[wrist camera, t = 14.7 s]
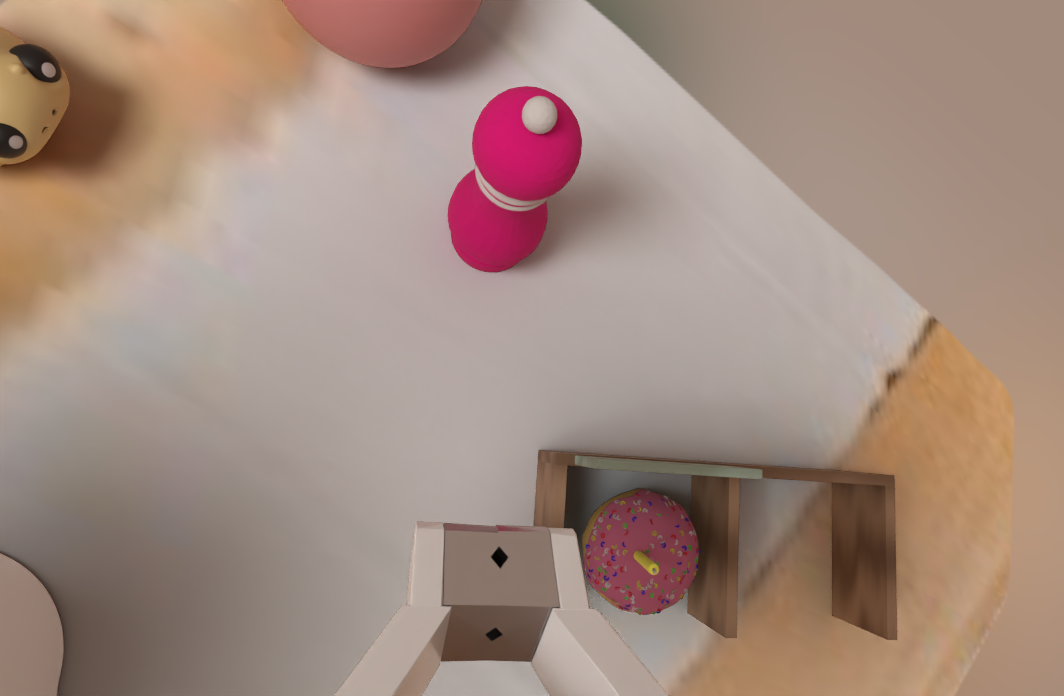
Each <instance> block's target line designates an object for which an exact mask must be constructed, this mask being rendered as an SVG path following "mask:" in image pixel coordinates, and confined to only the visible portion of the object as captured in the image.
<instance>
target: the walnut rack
mask: <svg viewBox="0 0 1064 696" xmlns="http://www.w3.org/2000/svg"><path fill="white" fill-rule="evenodd" d="M567 465H568V466H584V467H590V468H595V469H607V470H623V471H639V472H655V473H671V474H686V475H692V484H691V517H690V520H691V522H692V524H693V526H694V528H695V531H696V534H697V539H698V548H699V550H701V552H700V553H699V557H698V561H699V563H698V571H697V570H696V575H695V577H694V583H693V582H692V583H691V585H690V587H689V588H688V614H690V615H692V616H693V617H695V618H696V619H698V620H699V621H701V622H702V623H704V624H705V625H707V626H708V627H710V628H711V629H713V630H715V631H716V632H718V633H719V634H721V635H722V636H724V637H725V638H737V590H738V539H739V488H740V478H750V479H762V478H772V479H788V480H803V481H819V482H832V616H834V617H837V618H839V619H841V620H844V621H846V622H848V623H850V624H853V625H855V626H857V627H860V628H862V629H864V630H866V631H869V632H871V633H873V634H876V635H878V636H880V637H883V638H885V639H887V640H897V599H896V541H895V482H894V475H883V474H872V473H861V472H850V471H839V470H824V469H809V468H795V467H780V466H765V465H750V464H736V463H721V462H706V461H691V460H677V459H662V458H647V457H632V456H618V455H603V454H588V453H574V452H559V451H544V450H539V452H538V467H537V482H536V497H535V511H534V526H536V527H546V528H564V514H565V498H566V481H567Z"/></svg>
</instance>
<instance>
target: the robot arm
mask: <svg viewBox="0 0 1064 696" xmlns="http://www.w3.org/2000/svg"><path fill="white" fill-rule="evenodd" d="M63 650H64V645H63V631H62V626H61V621H60V618H59V614H58V611H57V609H56V606H55V604H54V602H53V600H52V598H51V596H50V595H49V593H48V591H47V590H46V589H45V587H44V586H43V585H42V583H41V582H40V581H39V580H38V579H37V578H36V577H35V576H34V575H33V574H32V573H31V572H30V571H29V570H27V569H26V568H25V567H23V566H22V565H21V564H19V563H18V562H16V561H14V560H13V559H11V558H9V557H7V556H5V555H3V554H0V696H57V689H58V683H59V678H60V673H61V668H62V662H63ZM476 660H493V661H526V662H532V663H531V665H532V667H533V668H534V670H535V672H536V673H537V675H538V677H539V678H540V680H541V682H542V683H543V685H544V686H545V688H546V690H547V691H548V693H549V695H550V696H669V695H668V694H667V693H666V692H665V690H664V689H663V688H662V687H661V686H660V684H659V683H658V682H657V681H656V679H655V678H654V677H653V676H652V675H651V673H650V672H649V671H648V670H647V669H646V667H645V666H644V665H643V664H642V663H641V661H640V660H639V659H638V658H637V656H636V655H635V654H634V653H633V652H632V650H631V649H630V648H629V647H628V646H627V644H626V643H625V642H624V641H623V640H622V638H621V637H620V636H619V635H618V633H617V632H616V631H615V630H614V629H613V627H612V626H611V625H610V624H609V623H608V621H607V620H606V619H605V618H604V617H603V615H602V614H601V613H600V612H599V610H598V609H590V607H589V601H588V596H587V590H586V585H585V579H584V573H583V568H582V562H581V557H580V551H579V546H578V540H577V535H576V533H575V531H574V529H572V528H546V527H536V526H501V525H496V526H483V525H468V524H452V523H444V524H443V523H438V522H416V525H415V532H414V540H413V547H412V554H411V563H410V572H409V580H408V592H407V605H402V606H401V607H400V608H399V610H398V611H397V612H396V614H395V615H394V616H393V618H392V619H391V620H390V622H389V623H388V624H387V626H386V627H385V628H384V630H383V631H382V632H381V634H380V635H379V636H378V638H377V639H376V640H375V642H374V643H373V644H372V646H371V647H370V649H369V650H368V651H367V653H366V654H365V655H364V657H363V658H362V659H361V661H360V662H359V663H358V665H357V666H356V667H355V669H354V670H353V671H352V673H351V674H350V675H349V677H348V678H347V679H346V681H345V682H344V683H343V685H342V686H341V687H340V689H339V690H338V691H337V693H336V694H335V695H334V696H422V694H423V693H424V691H425V689H426V687H427V686H428V684H429V682H430V681H431V679H432V677H433V675H434V674H435V672H436V670H437V669H438V667H439V665H440V661H476Z"/></svg>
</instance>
